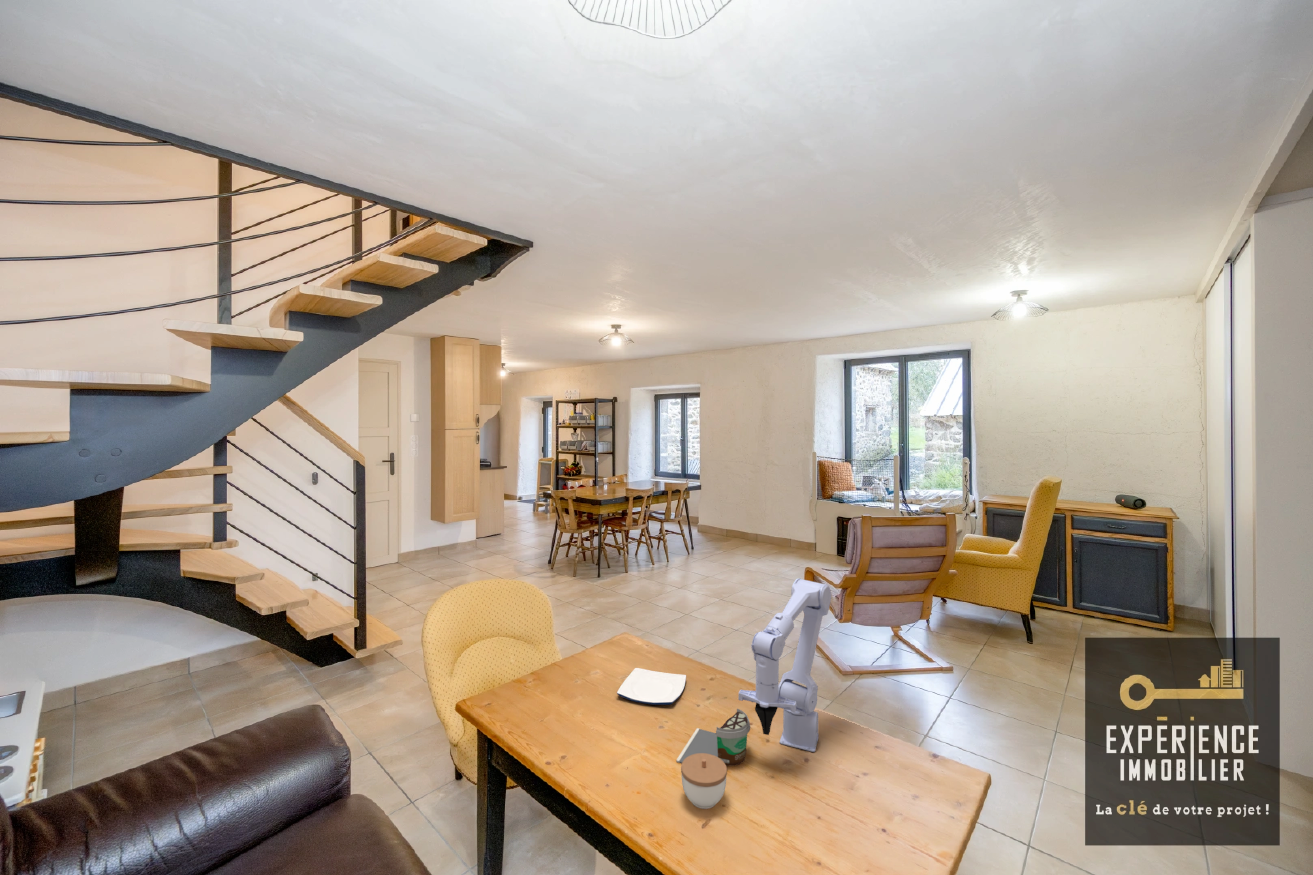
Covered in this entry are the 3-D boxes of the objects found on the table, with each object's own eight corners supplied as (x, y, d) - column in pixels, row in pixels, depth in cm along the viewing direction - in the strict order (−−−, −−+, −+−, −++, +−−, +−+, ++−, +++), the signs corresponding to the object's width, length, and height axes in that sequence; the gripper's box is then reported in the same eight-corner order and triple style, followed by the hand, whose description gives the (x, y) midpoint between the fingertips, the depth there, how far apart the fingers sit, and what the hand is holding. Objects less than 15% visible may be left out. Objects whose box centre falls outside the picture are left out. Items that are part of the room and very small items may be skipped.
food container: (736, 775, 130) (736, 736, 130) (715, 766, 134) (715, 727, 134) (758, 751, 140) (758, 714, 140) (737, 743, 144) (737, 707, 143)
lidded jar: (697, 777, 129) (698, 740, 129) (735, 797, 122) (735, 758, 122) (671, 801, 121) (671, 761, 121) (710, 823, 114) (710, 781, 114)
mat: (730, 738, 146) (730, 736, 146) (712, 772, 131) (712, 770, 131) (697, 729, 150) (697, 727, 150) (676, 761, 135) (676, 759, 135)
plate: (612, 702, 165) (612, 693, 165) (634, 673, 185) (634, 665, 185) (674, 712, 159) (674, 704, 159) (689, 681, 179) (689, 674, 179)
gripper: (735, 681, 133) (735, 733, 133) (793, 693, 127) (792, 748, 127) (742, 669, 139) (742, 719, 139) (797, 680, 133) (797, 732, 133)
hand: (766, 732), depth 133 cm, fingers closed
